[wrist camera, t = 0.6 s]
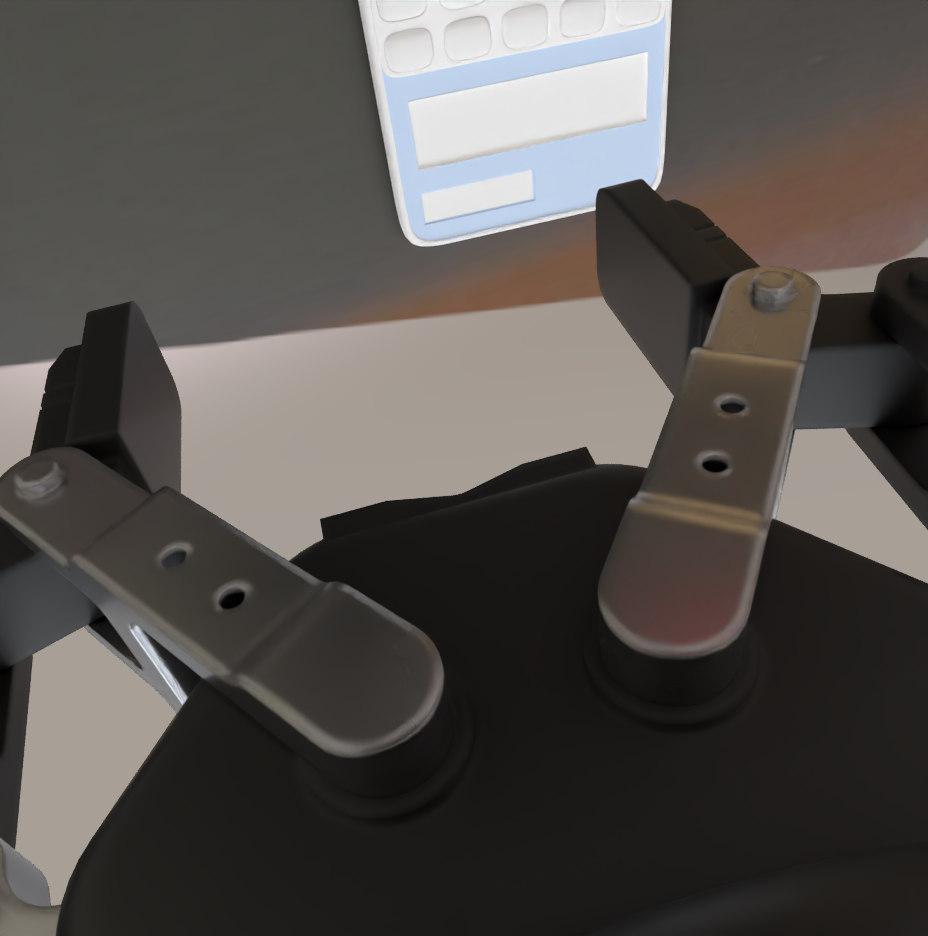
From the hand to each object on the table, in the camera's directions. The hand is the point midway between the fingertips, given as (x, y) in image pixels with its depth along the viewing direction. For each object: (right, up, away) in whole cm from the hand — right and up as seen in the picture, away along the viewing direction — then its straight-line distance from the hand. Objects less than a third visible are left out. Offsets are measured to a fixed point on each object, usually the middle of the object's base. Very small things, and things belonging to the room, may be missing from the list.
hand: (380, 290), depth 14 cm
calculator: (+3, +17, +21) cm, 27 cm away
